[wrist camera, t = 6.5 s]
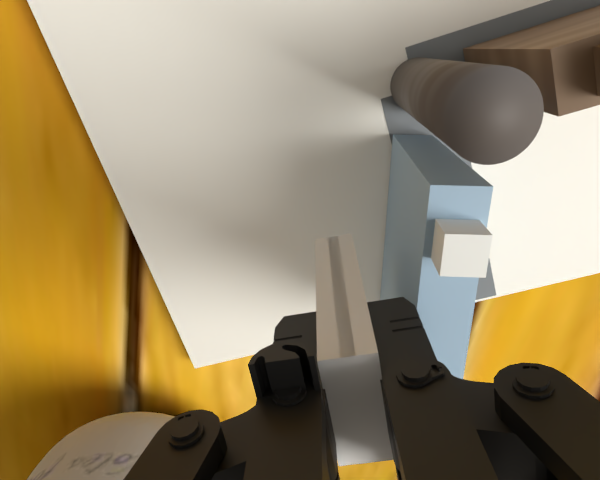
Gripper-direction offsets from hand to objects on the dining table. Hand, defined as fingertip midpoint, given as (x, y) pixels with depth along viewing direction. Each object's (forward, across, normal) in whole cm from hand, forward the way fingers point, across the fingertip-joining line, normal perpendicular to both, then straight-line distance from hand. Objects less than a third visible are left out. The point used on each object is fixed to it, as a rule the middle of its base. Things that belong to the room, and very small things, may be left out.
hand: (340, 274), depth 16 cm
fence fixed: (+3, +7, +6) cm, 10 cm away
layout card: (+4, +2, +4) cm, 6 cm away
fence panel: (+3, +3, 0) cm, 4 cm away
